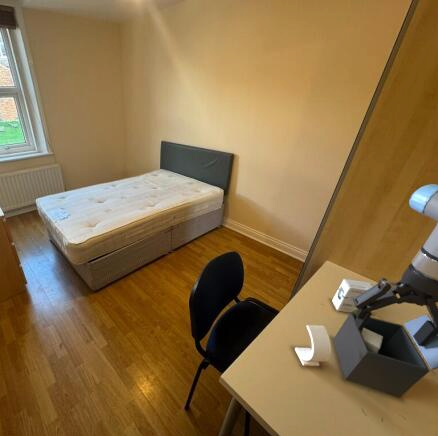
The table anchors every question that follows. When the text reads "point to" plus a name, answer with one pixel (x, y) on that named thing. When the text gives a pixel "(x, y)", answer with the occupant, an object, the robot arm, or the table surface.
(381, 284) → the robot arm
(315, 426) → the table surface
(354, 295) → the ink box
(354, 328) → the grey container
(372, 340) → the box
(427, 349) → the panel
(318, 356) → the headphone stand
